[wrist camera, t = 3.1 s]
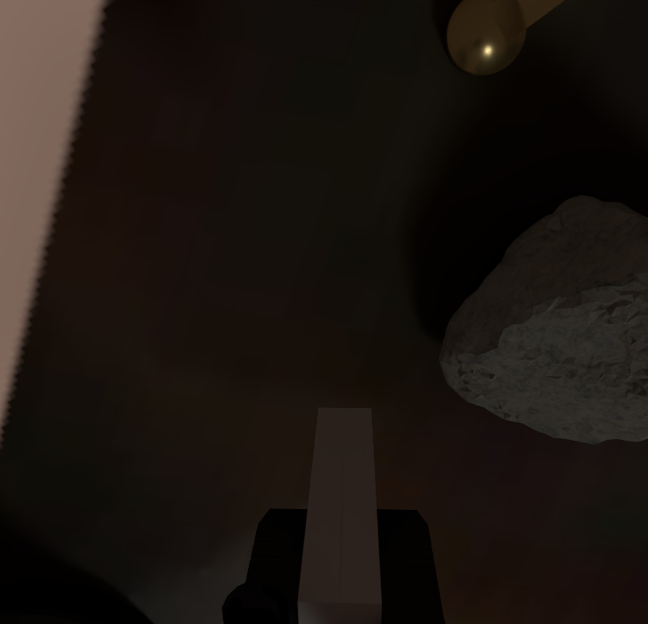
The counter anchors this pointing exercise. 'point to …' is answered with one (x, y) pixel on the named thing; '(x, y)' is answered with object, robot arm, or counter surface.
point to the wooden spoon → (490, 32)
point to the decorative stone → (561, 327)
